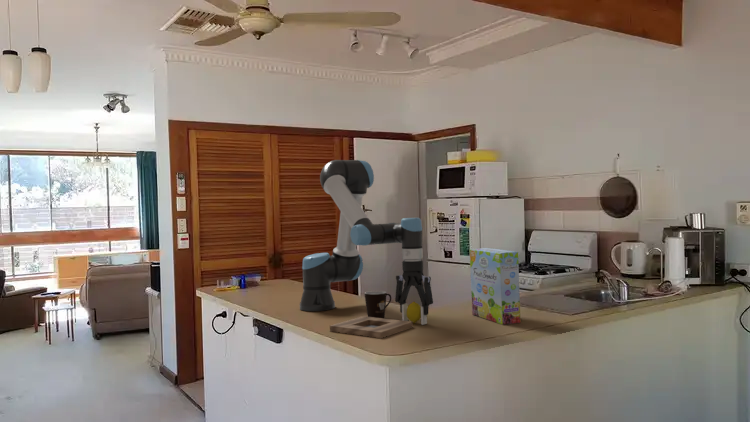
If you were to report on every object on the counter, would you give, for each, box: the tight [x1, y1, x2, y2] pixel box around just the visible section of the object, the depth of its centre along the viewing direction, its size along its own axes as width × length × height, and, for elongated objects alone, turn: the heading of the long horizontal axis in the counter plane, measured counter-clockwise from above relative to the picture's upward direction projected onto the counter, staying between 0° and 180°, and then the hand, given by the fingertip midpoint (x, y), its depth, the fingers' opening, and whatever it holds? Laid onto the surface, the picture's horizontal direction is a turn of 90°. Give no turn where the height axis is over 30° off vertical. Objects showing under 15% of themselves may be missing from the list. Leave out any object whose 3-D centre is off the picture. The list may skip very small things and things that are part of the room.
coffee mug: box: [363, 290, 392, 319], centre depth 218 cm, size 12×9×10 cm
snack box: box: [469, 247, 522, 326], centre depth 210 cm, size 22×9×26 cm, turn 21°
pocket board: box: [329, 315, 413, 339], centre depth 198 cm, size 22×19×2 cm
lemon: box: [407, 301, 421, 324], centre depth 206 cm, size 6×6×8 cm
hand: (414, 322), depth 206 cm, fingers open, 7 cm apart
